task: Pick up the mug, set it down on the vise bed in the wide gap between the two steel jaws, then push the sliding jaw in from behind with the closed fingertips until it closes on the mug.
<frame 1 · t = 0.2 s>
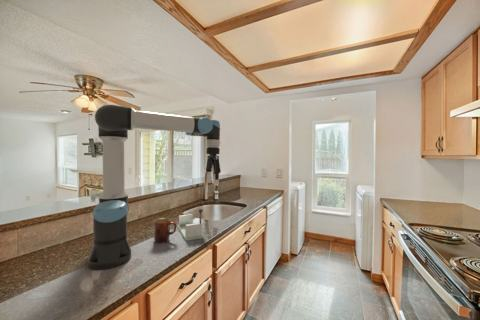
hand: (212, 184, 117), 28 cm above the worktop, fingers open, 13 cm apart
mug: (164, 240, 103), on the worktop
vise: (189, 232, 115), on the worktop
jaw: (184, 218, 126), point 5 cm above the worktop, slide at 0.0 cm
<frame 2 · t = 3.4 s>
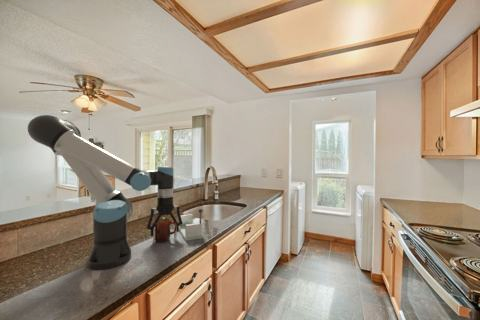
hand: (164, 240, 103), 0 cm above the worktop, fingers closed on mug, 10 cm apart
mug: (165, 240, 103), on the worktop, touching gripper
everything else where it was.
when the fingers open (3 cm above the worktop, at t = 9.0 s): mug drops 1 cm, resting on vise.
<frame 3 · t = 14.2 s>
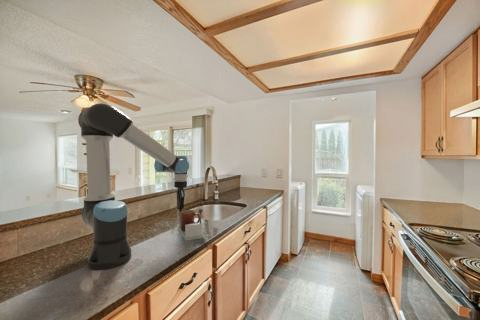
hand: (180, 219, 123), 5 cm above the worktop, fingers closed
mug: (189, 230, 115), point 1 cm above the worktop, touching vise
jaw: (184, 218, 126), point 5 cm above the worktop, slide at 0.0 cm, touching gripper
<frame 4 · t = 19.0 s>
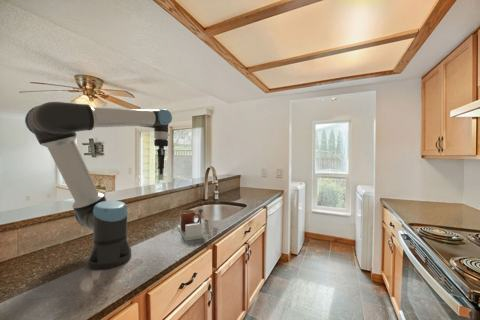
hand: (160, 179, 118), 29 cm above the worktop, fingers closed
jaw: (186, 219, 123), point 5 cm above the worktop, slide at 3.5 cm
everything else where it was.
at the end: mug inside the target area (0.4 cm from its centre), point 1.3 cm above the worktop; mug tilted 0°; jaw slide at 3.5 cm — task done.
